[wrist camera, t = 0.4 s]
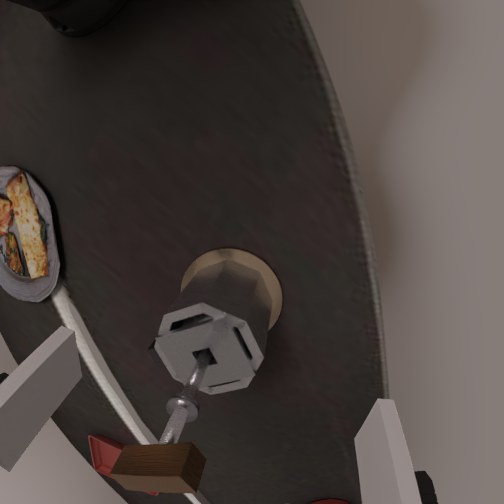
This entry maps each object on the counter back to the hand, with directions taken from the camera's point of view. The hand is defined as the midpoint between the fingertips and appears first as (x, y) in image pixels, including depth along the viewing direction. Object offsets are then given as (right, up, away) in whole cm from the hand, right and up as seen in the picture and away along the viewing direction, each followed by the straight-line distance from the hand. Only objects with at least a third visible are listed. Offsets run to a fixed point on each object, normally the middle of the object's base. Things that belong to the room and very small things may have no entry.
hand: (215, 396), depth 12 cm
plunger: (-3, -4, +22) cm, 22 cm away
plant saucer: (-28, -44, +50) cm, 73 cm away
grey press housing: (-1, 0, +32) cm, 32 cm away
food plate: (-40, +9, +35) cm, 54 cm away
